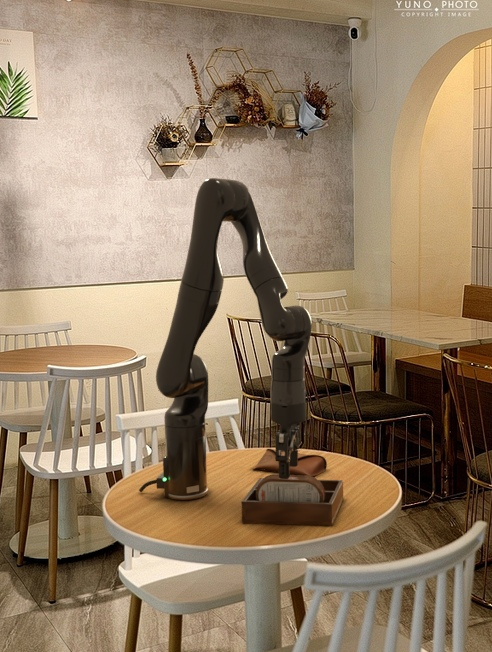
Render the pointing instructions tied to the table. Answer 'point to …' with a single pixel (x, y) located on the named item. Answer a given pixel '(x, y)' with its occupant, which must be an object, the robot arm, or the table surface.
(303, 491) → the tin
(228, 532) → the table surface
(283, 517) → the organizer
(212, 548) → the table surface
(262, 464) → the sunglasses case
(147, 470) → the table surface
